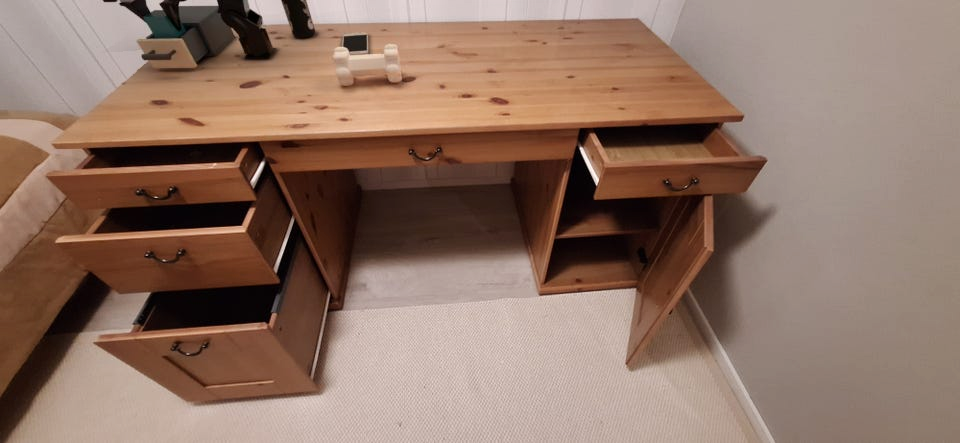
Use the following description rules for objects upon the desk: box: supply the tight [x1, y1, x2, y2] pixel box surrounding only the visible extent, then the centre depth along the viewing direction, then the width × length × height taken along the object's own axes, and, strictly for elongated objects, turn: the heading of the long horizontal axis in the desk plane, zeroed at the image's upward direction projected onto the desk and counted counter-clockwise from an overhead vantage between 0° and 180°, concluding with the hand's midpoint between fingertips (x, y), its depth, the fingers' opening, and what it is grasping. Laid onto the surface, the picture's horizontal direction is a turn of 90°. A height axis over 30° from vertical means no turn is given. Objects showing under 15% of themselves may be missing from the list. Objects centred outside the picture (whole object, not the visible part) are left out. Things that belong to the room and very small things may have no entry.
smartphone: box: [341, 31, 370, 55], centre depth 108 cm, size 7×15×1 cm, turn 12°
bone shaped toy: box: [332, 43, 403, 87], centre depth 91 cm, size 15×9×8 cm, turn 99°
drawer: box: [136, 26, 210, 69], centre depth 97 cm, size 17×10×7 cm, turn 3°
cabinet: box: [179, 5, 236, 57], centre depth 105 cm, size 14×12×9 cm
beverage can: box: [280, 0, 316, 39], centre depth 110 cm, size 7×7×12 cm
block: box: [143, 9, 186, 39], centre depth 94 cm, size 5×5×5 cm
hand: (169, 30), depth 95 cm, fingers closed on block, 5 cm apart
